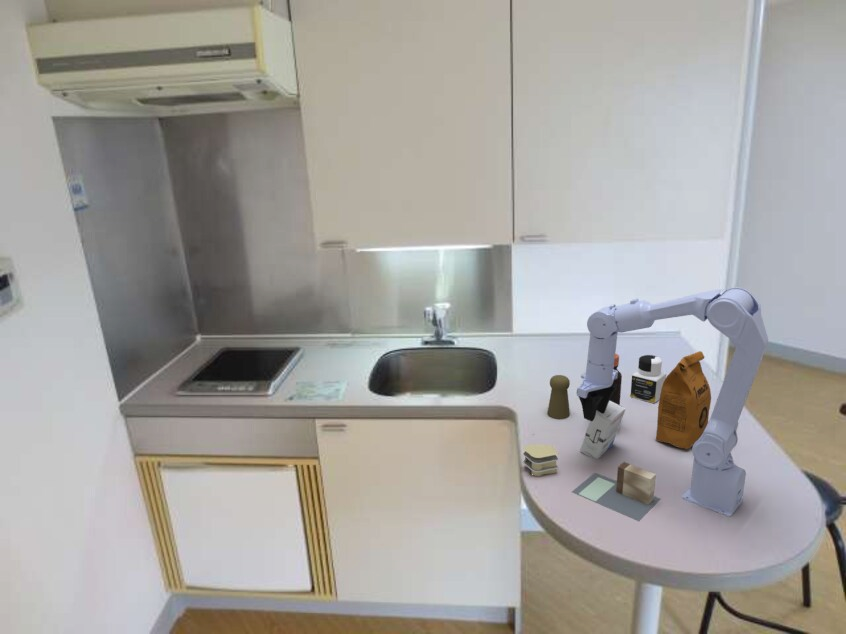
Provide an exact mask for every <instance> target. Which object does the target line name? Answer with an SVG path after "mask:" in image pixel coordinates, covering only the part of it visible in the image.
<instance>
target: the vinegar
mask: <svg viewBox="0 0 846 634" xmlns="http://www.w3.org/2000/svg"><path fill="white" fill-rule="evenodd" d="M619 363H620V355H619V354H617V353H616V352H615V360H614V368H613V369H614V370H617V371H618V376H617V379H615V380H614V381H613V383H615V384H617V385H618V388H617V389H616V390H615V392H614V393H613V395H612V396H611V398H610V401H612V402H614V403H616V404H618V405H620V404H621V394H622V392H621V391H622V378H623V377H622V373H621V372H620V371H619V370H618V367H619V365H620V364H619ZM620 406H621V405H620Z"/></svg>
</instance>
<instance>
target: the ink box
mask: <svg viewBox="0 0 846 634" xmlns="http://www.w3.org/2000/svg"><path fill="white" fill-rule="evenodd" d="M625 412H626V408H625V407H624V406H621V405H618V404H616V403H614V402H612V401H610V400H609V403H608V405H607V408H606V410H605V412H604V413H603V414H602V413H600V412H599V411H596V415H595V418H594V420H593V421H588V422H589V423H588V426H587V428H586V432H585V433H584V434H585V435H584V438H583V441H582V443H581V446H580V449H579V452H581V453H583V454H584V455H586V456H589V457H591V458H594V459H599V458H600V457H602V456H603V454H605V453H606V452H607V451H608V450H610V448H611V447H612V446H613V444H614V442H615V440H616V437H617V434H618V432H619V431H618V430H619V428H620V426H621V423H622V420H623V418H624V415H625Z"/></svg>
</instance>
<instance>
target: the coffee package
mask: <svg viewBox="0 0 846 634" xmlns="http://www.w3.org/2000/svg"><path fill="white" fill-rule="evenodd" d="M705 358H706V357H705V355H704V353H703V351H701V350H698V351H696V352H695V353H692V354H688V355H685V356H683V357H682V358H681V359H680V361H679V362H678V363H677V364H676V366H675V367H674V368H673V369H672V370H671V372H669V374H667V375H666V379H665V380H664V382H663V386H662V389H661V394H660V399H659V400H658V401H659V402H658V407H657V424H656V425H657V426H656V436H655V440H656V441H658V442H662V443H666V444H670V445H673V446H674V447H677V448H680V449H685V450H688V449H689V448H691V447H693V445H694V443H695V442H696V441H697V440H698V439H699V438H700V437H701V435H702V434H703V432H704V430H705V428H706V426H707V424H708V422H709V416H710V415H709V414H710V408H711V403H712V392H711V387H710V385H709V381H708V380H707V377H706V376H705V374H704V372H703V367H702V365H701V362H700V361H702V360H704V359H705Z"/></svg>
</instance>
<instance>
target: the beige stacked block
mask: <svg viewBox="0 0 846 634" xmlns="http://www.w3.org/2000/svg"><path fill="white" fill-rule="evenodd" d="M523 450H524V452H523V454H522V455H523V456H524V460H523V461H522V463H523V464H524V465H525V466H526V467H527V468H528V469H529V470H530V471H531V475H532V474H533V475H536V476H535V477H542V476H543V475H549V474H556V473H557V469H559V466H558V465H557V462H558V461H559V458H558V456H557V455H559V452H558V450H556V448H555V446H554V445H549V444H548V445H547V444H526V445H525V446H524V447H523ZM542 474H543V475H542ZM541 475H542V476H541Z"/></svg>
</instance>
